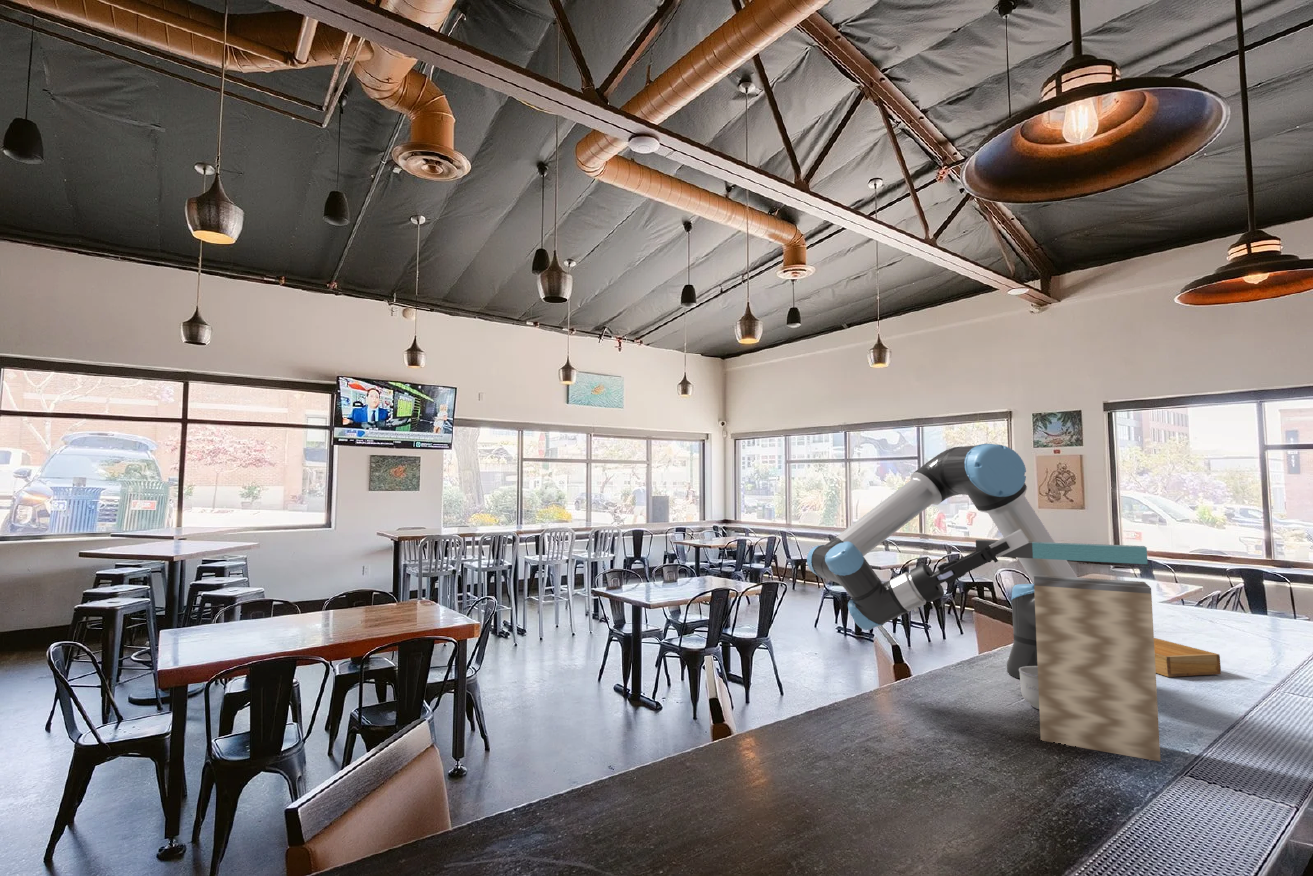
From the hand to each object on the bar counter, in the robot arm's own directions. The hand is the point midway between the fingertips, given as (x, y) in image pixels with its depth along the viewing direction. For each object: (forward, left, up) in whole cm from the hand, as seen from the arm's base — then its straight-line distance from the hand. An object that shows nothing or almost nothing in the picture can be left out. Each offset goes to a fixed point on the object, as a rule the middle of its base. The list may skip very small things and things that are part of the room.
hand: (1024, 535), depth 127 cm
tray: (-46, +63, -39) cm, 87 cm away
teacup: (-12, +14, -38) cm, 42 cm away
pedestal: (+6, +8, -38) cm, 40 cm away
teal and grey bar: (+3, +4, -4) cm, 7 cm away
